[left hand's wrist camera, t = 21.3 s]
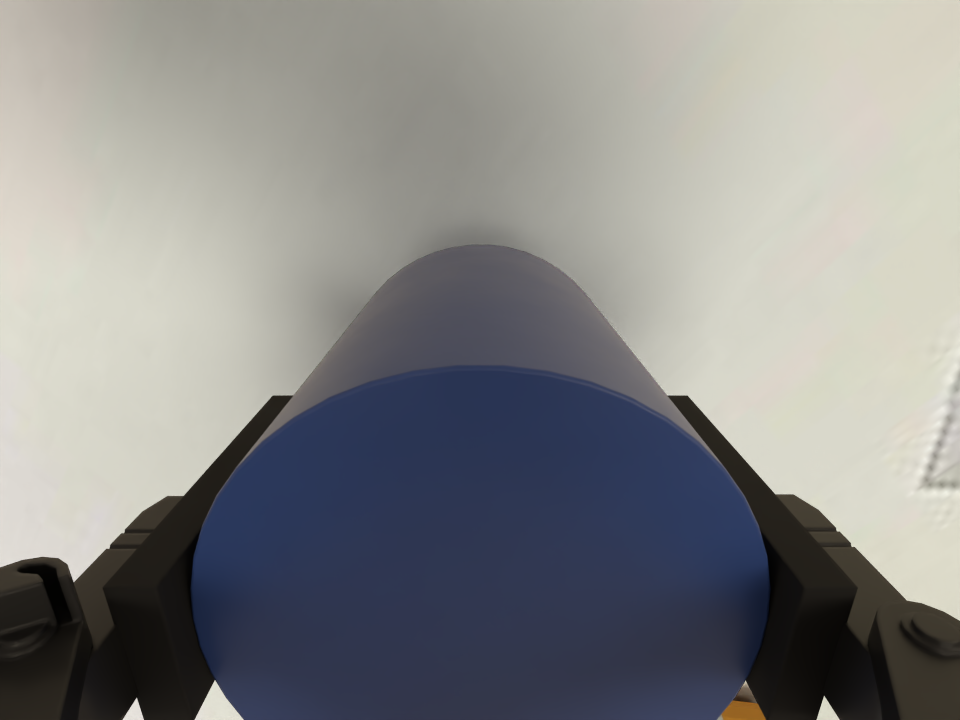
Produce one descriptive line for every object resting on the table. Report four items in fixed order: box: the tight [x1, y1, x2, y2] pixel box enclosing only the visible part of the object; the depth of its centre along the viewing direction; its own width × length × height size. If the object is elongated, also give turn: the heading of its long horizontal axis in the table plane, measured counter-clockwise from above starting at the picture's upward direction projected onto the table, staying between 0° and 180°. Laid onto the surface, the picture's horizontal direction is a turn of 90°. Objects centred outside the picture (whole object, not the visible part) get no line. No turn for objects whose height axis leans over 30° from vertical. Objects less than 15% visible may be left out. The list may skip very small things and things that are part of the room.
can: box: [190, 245, 770, 720], centre depth 13 cm, size 9×9×11 cm
